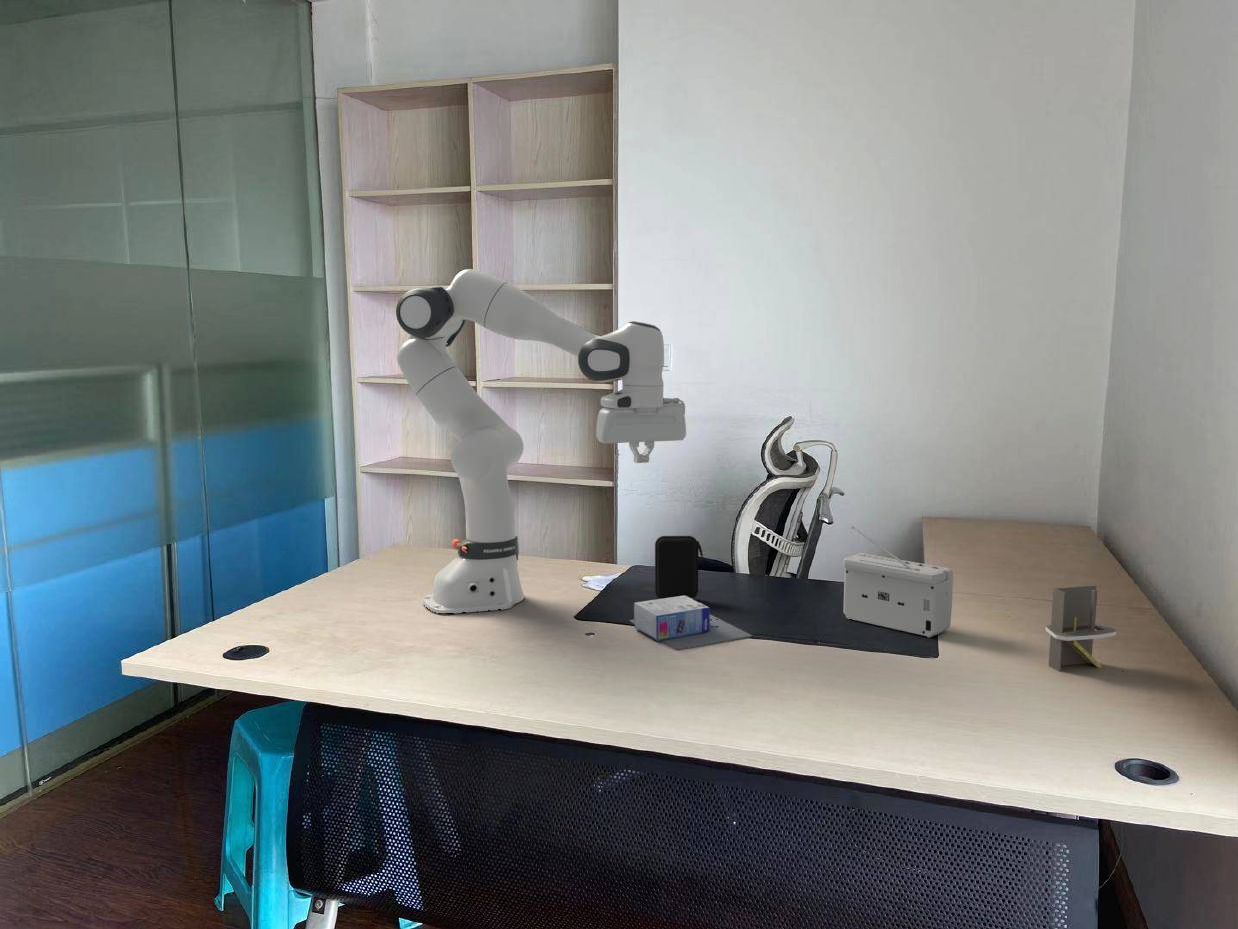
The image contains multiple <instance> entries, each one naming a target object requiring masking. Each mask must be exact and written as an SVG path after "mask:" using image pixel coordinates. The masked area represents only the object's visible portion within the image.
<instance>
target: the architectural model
mask: <svg viewBox="0 0 1238 929" xmlns="http://www.w3.org/2000/svg"><path fill="white" fill-rule="evenodd" d="M1097 601H1098V590H1097V584H1095V585H1093V584H1092V585H1083V586H1082V585H1081V586H1067V587H1055V588H1053V590H1052V604H1051V605H1052V606H1051V608H1052V609H1051V622H1050V623H1051V624H1049V625H1048V624H1047V625H1045V631H1046V632H1047V633H1048V634H1049V635H1050V637H1049V639H1050V640H1049V653H1048V654H1049V655H1048V667H1049V668H1051V669H1054V670H1056V671H1058V672H1062V666H1068V665H1079V664H1091V665H1093V666H1095V667H1097V668H1103V666H1102V664H1100V662H1098V661H1097V660H1096V659H1095V658H1094V657H1093V644H1094V642H1093V641H1094V640H1095V639H1096V640H1099V639H1104V638H1109V637H1110V638H1111V637H1115V636H1116V634H1117V629H1115V628H1113V627H1111V626H1108V625H1106V624H1103V623H1101V622H1096V617H1097Z"/></svg>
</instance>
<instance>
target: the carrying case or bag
mask: <svg viewBox="0 0 1238 929" xmlns="http://www.w3.org/2000/svg"><path fill="white" fill-rule="evenodd" d="M699 554H700V556H701V557H704V556H703V554H704V553H703V549H702V546H701V543H700V541H699V540H697V539H696V538H695V537H694V536H692V535H662V536H659V537H658V538H657V539H656V541H655V542H654V592H655V595H656V597H657V598H658V599H664V598H671V597H678V596H687V597H690V598H692V599H693V600H694V599H695V598H696V597H697V595H698V592H699Z"/></svg>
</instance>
